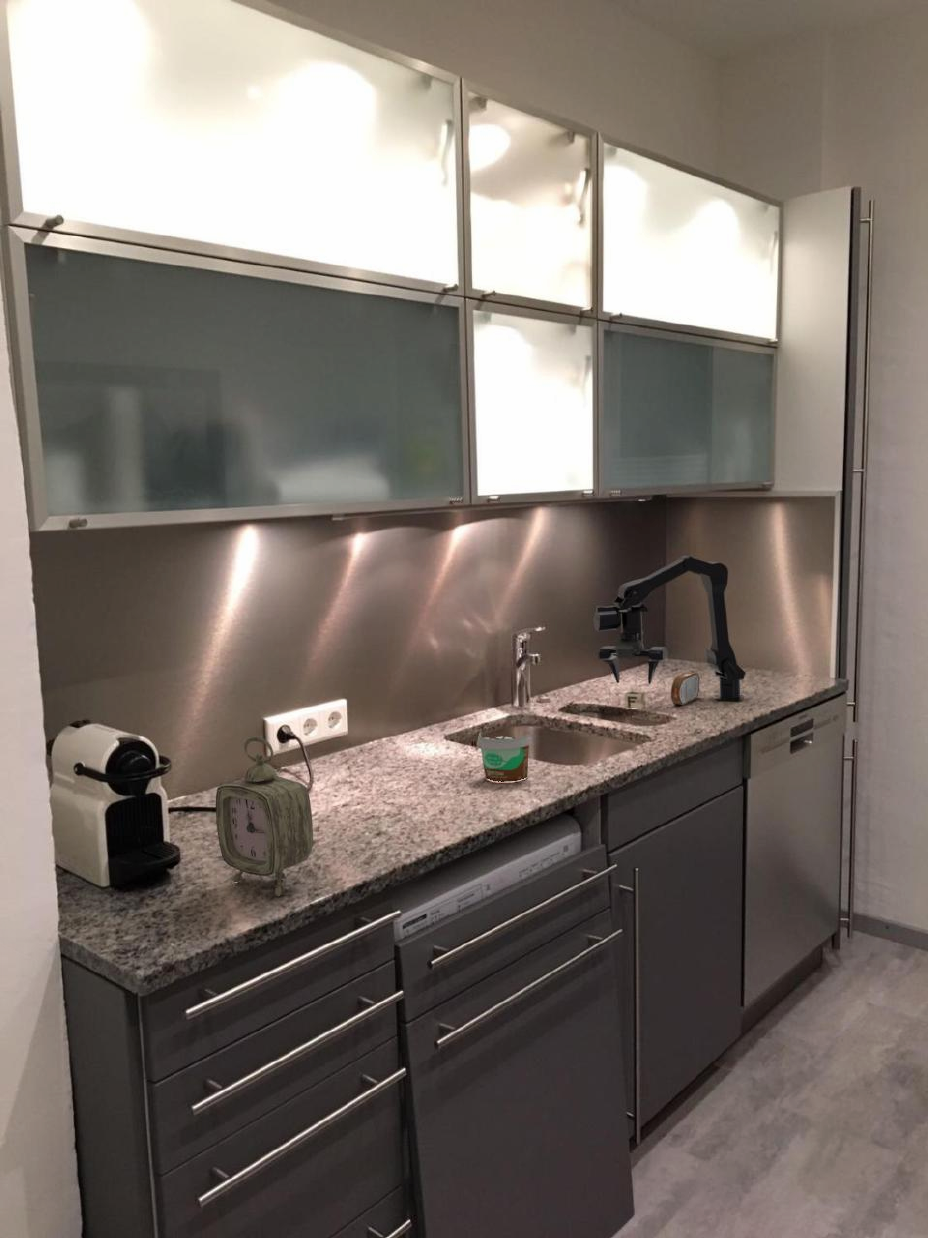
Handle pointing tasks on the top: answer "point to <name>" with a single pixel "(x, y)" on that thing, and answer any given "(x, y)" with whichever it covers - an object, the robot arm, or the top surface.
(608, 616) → the robot arm
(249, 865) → the tabletop clock
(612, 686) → the top surface
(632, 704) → the letter cube
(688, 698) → the tin
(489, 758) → the food container
